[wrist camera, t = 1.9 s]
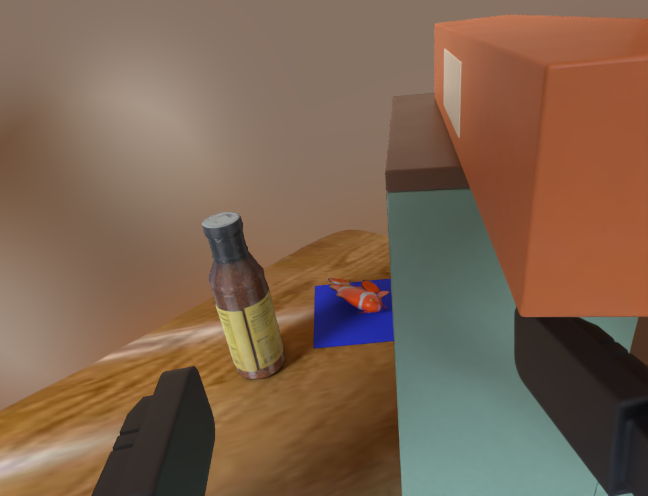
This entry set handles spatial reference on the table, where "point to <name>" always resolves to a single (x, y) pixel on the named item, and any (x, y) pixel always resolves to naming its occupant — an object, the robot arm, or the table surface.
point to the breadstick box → (555, 154)
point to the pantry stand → (464, 334)
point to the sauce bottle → (242, 299)
